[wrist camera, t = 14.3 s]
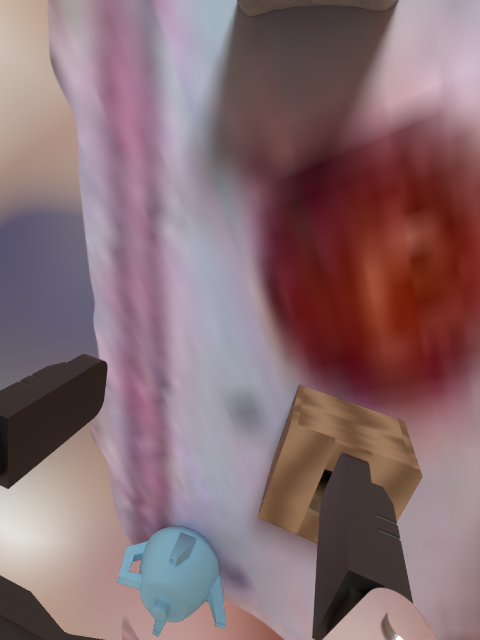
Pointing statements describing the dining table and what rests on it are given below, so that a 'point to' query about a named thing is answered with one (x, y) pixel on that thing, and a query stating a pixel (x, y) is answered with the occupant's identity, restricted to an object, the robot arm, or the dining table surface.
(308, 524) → the box
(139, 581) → the teapot
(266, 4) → the hip flask
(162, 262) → the dining table surface
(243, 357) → the dining table surface
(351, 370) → the dining table surface
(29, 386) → the robot arm
